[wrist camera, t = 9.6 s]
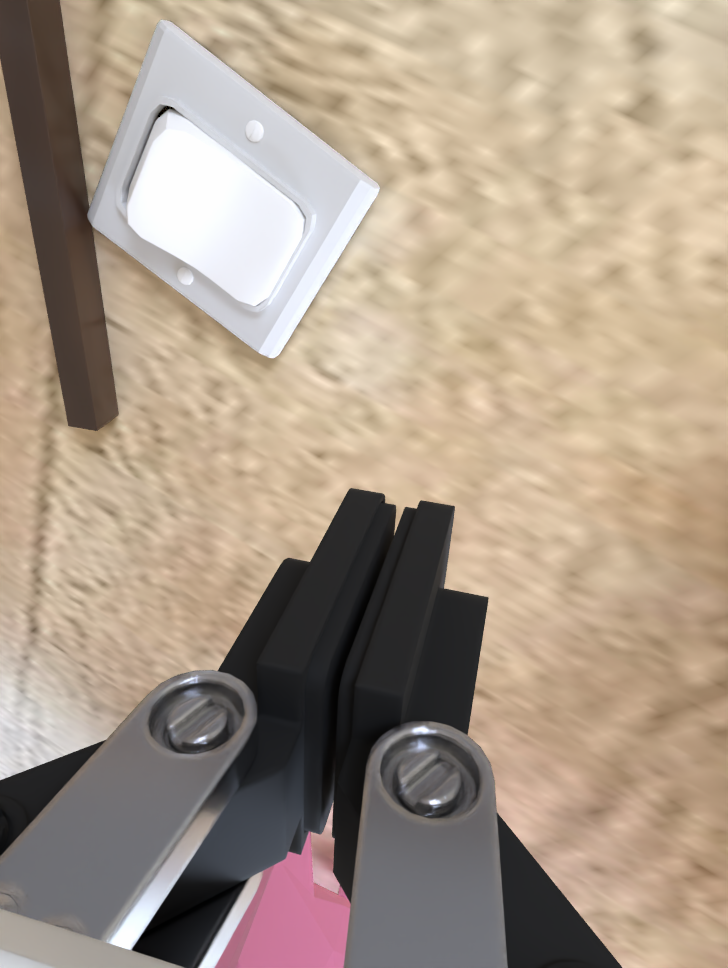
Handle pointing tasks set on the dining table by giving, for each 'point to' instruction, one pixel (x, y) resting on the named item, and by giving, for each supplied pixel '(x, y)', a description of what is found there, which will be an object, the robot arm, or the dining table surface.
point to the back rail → (58, 204)
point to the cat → (290, 921)
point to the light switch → (226, 193)
